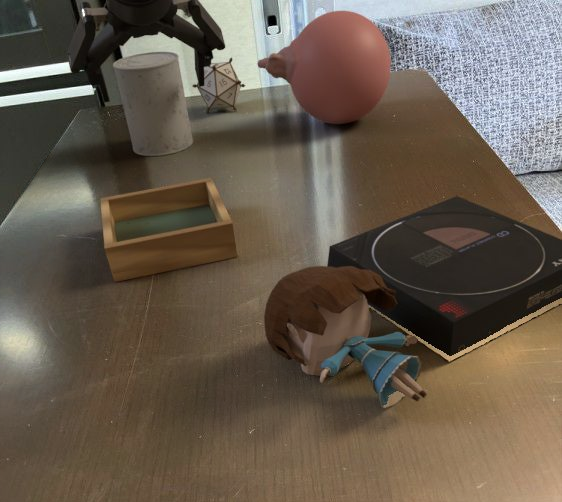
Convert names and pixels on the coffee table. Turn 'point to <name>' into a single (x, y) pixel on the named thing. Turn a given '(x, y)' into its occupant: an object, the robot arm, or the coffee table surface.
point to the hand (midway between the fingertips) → (152, 85)
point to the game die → (220, 86)
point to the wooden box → (166, 229)
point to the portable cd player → (458, 271)
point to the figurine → (339, 327)
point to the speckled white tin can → (154, 103)
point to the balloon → (335, 67)
